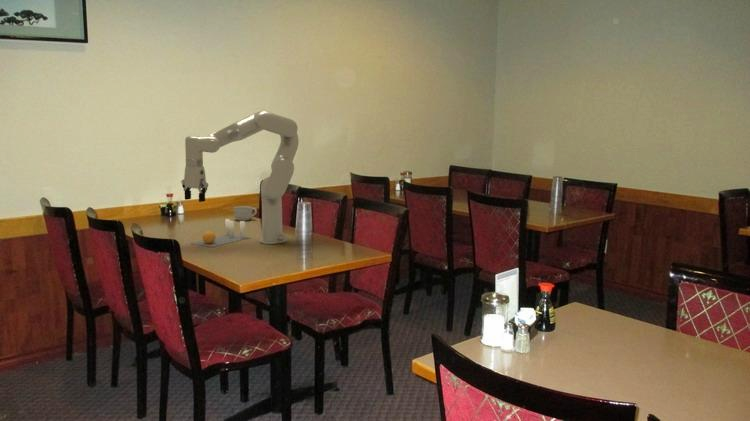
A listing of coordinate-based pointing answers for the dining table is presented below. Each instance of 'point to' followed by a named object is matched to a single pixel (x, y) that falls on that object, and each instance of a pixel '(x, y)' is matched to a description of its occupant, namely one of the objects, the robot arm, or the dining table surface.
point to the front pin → (231, 229)
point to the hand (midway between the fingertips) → (194, 200)
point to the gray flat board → (220, 241)
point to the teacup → (244, 213)
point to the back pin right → (227, 226)
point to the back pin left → (242, 229)
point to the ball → (209, 237)
